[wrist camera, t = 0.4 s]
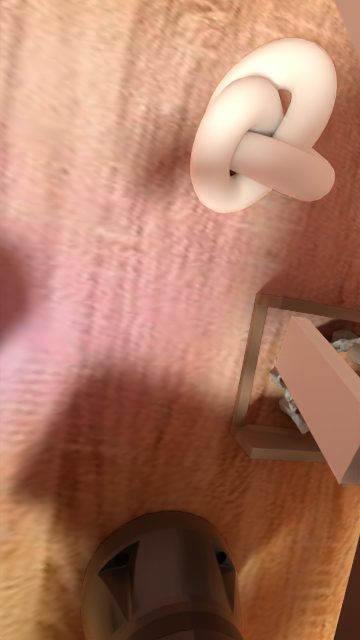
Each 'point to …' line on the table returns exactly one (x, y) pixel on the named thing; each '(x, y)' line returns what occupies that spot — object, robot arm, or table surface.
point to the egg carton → (339, 343)
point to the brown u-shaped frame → (249, 436)
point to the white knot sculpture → (266, 128)
